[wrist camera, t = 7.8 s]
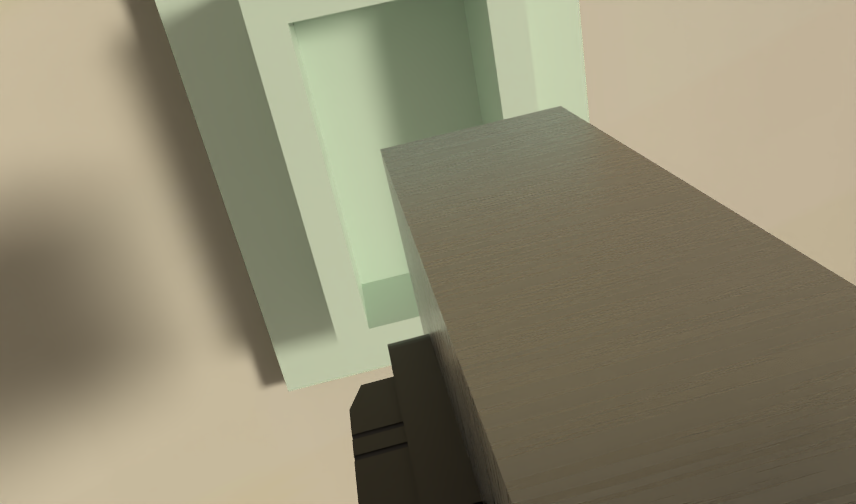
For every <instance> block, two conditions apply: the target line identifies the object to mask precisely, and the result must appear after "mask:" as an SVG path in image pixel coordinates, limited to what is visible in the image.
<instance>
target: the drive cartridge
mask: <svg viewBox="0 0 856 504" xmlns="http://www.w3.org/2000/svg"><path fill="white" fill-rule="evenodd" d="M380 151H381V155H382V159H383V164H384V168H385V172H386V176H387V181H388V185H389V189H390V193H391V198H392V202H393V206H394V210H395V214H396V219H397V223H398V227H399V231H400V236H401V240H402V244H403V248H404V253H405V257H406V261H407V265H408V269H409V274H410V278H411V282H412V286H413V291H414V295H415V299H416V303H417V307H418V312H419V316H420V320H421V324H422V329H423V333H424V335H425V334H429V336H430V339H431V342H432V345H433V348H434V351H435V354H436V357H437V360H438V363H439V367H440V370H441V373H442V376H443V379H444V382H445V385H446V388H447V391H448V395H449V398H450V401H451V404H452V407H453V410H454V413H455V416H456V420H457V423H458V426H459V429H460V432H461V435H462V438H463V441H464V444H465V448H466V451H467V454H468V457H469V460H470V463H471V466H472V469H473V472H474V476H475V479H476V482H477V485H478V488H479V491H480V494H481V497H482V501H483V504H856V286H855V285H853V284H851V283H850V282H848V281H847V280H845V279H843V278H842V277H840V276H838V275H837V274H835V273H833V272H832V271H830V270H829V269H827V268H825V267H824V266H822V265H820V264H819V263H817V262H815V261H814V260H812V259H811V258H809V257H807V256H806V255H804V254H802V253H801V252H799V251H797V250H796V249H794V248H793V247H791V246H789V245H788V244H786V243H784V242H783V241H781V240H779V239H778V238H776V237H775V236H773V235H771V234H770V233H768V232H766V231H765V230H763V229H761V228H760V227H758V226H757V225H755V224H753V223H752V222H750V221H748V220H747V219H745V218H743V217H742V216H740V215H739V214H737V213H735V212H734V211H732V210H730V209H729V208H727V207H725V206H724V205H722V204H721V203H719V202H717V201H716V200H714V199H712V198H711V197H709V196H707V195H706V194H704V193H703V192H701V191H699V190H698V189H696V188H694V187H693V186H691V185H689V184H688V183H686V182H685V181H683V180H681V179H680V178H678V177H676V176H675V175H673V174H671V173H670V172H668V171H667V170H665V169H663V168H662V167H660V166H658V165H657V164H655V163H653V162H652V161H650V160H649V159H647V158H645V157H644V156H642V155H640V154H639V153H637V152H635V151H634V150H632V149H631V148H629V147H627V146H626V145H624V144H622V143H621V142H619V141H617V140H616V139H614V138H613V137H611V136H609V135H608V134H606V133H604V132H603V131H601V130H599V129H598V128H596V127H595V126H593V125H591V124H590V123H588V122H586V121H585V120H583V119H581V118H580V117H578V116H577V115H575V114H573V113H572V112H570V111H568V110H567V109H565V108H563V107H562V106H558V107H554V108H550V109H545V110H541V111H537V112H533V113H529V114H525V115H521V116H516V117H512V118H508V119H504V120H500V121H496V122H492V123H487V124H483V125H479V126H475V127H471V128H467V129H462V130H458V131H454V132H450V133H446V134H442V135H438V136H433V137H429V138H425V139H421V140H417V141H413V142H409V143H404V144H400V145H396V146H392V147H388V148H384V149H380Z"/></svg>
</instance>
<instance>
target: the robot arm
mask: <svg viewBox="0 0 856 504" xmlns="http://www.w3.org/2000/svg"><path fill="white" fill-rule="evenodd" d="M387 345H388V350H389V355H390V360H391V365H392V370H393V375H394V377H390V378H387V379H383V380H379V381H375V382H371V383H368V384H364V385H361V387H360V389H359V391H358V393H357V395H356V397H355V400H354V402H353V404H352V406H351V408H350V420H351V430H352V437H353V440H352V441H353V451H354V458H355V472H356V482H357V493H358V503H359V504H483V501H482V497H481V494H480V491H479V488H478V485H477V482H476V479H475V476H474V472H473V469H472V466H471V463H470V460H469V457H468V454H467V451H466V448H465V444H464V441H463V438H462V435H461V432H460V429H459V426H458V423H457V420H456V416H455V413H454V410H453V407H452V404H451V401H450V398H449V395H448V391H447V388H446V385H445V382H444V379H443V376H442V373H441V370H440V367H439V363H438V360H437V357H436V354H435V351H434V348H433V345H432V342H431V339H430V336H429V334H425V335H421V336H418V337H414V338H410V339H406V340H402V341H398V342H395V343H391V344H387Z"/></svg>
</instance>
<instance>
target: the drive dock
mask: <svg viewBox="0 0 856 504" xmlns="http://www.w3.org/2000/svg"><path fill="white" fill-rule="evenodd" d="M155 3H156V6H157V9H158V12H159V15H160V18H161V20H162V23H163V26H164V29H165V32H166V35H167V38H168V41H169V44H170V47H171V50H172V53H173V55H174V58H175V61H176V64H177V67H178V70H179V73H180V76H181V79H182V82H183V85H184V88H185V91H186V93H187V96H188V99H189V102H190V105H191V108H192V111H193V114H194V117H195V120H196V123H197V126H198V128H199V131H200V134H201V137H202V140H203V143H204V146H205V149H206V152H207V155H208V158H209V161H210V164H211V166H212V169H213V172H214V175H215V178H216V181H217V184H218V187H219V190H220V193H221V196H222V199H223V201H224V204H225V207H226V210H227V213H228V216H229V219H230V222H231V225H232V228H233V231H234V234H235V237H236V239H237V242H238V245H239V248H240V251H241V254H242V257H243V260H244V263H245V266H246V269H247V272H248V275H249V277H250V280H251V283H252V286H253V289H254V292H255V295H256V298H257V301H258V304H259V307H260V310H261V312H262V315H263V318H264V321H265V324H266V327H267V330H268V333H269V336H270V339H271V342H272V345H273V348H274V350H275V353H276V356H277V359H278V362H279V365H280V368H281V371H282V374H283V377H284V380H285V383H286V385H287V388H288V391H293V390H297V389H301V388H305V387H309V386H312V385H316V384H320V383H324V382H328V381H332V380H336V379H340V378H344V377H348V376H352V375H356V374H360V373H363V372H367V371H371V370H375V369H379V368H383V367H387V366H391V360H390V355H389V350H388V345H387V344H391V343H395V342H398V341H402V340H406V339H410V338H414V337H418V336H421V335H424V333H423V329H422V324H421V320H420V316H419V312H418V307H417V303H416V299H415V295H414V291H413V286H412V282H411V278H410V274H409V269H408V265H407V261H406V257H405V253H404V248H403V244H402V240H401V236H400V231H399V227H398V223H397V219H396V214H395V210H394V206H393V202H392V198H391V193H390V189H389V185H388V181H387V176H386V172H385V168H384V164H383V159H382V155H381V151H380V149H384V148H388V147H392V146H396V145H400V144H404V143H409V142H413V141H417V140H421V139H425V138H429V137H433V136H438V135H442V134H446V133H450V132H454V131H458V130H462V129H467V128H471V127H475V126H479V125H483V124H487V123H492V122H496V121H500V120H504V119H508V118H512V117H516V116H521V115H525V114H529V113H533V112H537V111H541V110H545V109H550V108H554V107H558V106H562V107H563V108H565V109H567V110H568V111H570V112H572V113H573V114H575V115H577V116H578V117H580V118H581V119H583V120H585V121H586V122H588V123H590V122H589V111H588V99H587V88H586V76H585V65H584V53H583V41H582V30H581V18H580V7H579V0H155Z"/></svg>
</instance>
